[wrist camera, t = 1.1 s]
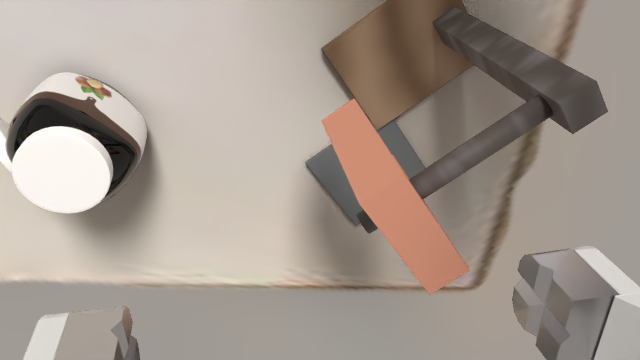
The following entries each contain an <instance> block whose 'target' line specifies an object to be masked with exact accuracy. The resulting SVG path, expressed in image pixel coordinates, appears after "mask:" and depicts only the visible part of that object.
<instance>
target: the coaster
mask: <svg viewBox="0 0 640 360" xmlns="http://www.w3.org/2000/svg"><path fill="white" fill-rule="evenodd" d="M369 120H370V119H369ZM370 122H371V120H370ZM371 123H372V122H371ZM372 125H373V123H372ZM373 126H374V125H373ZM374 128H375V126H374ZM375 129H376V128H375ZM376 131H377V132H378V134H379V135H380V137H381V139H382V140H383V142H384V143H385V145H386V146H387V148H388V149H389V151H390V153H391V154H393V156H394V157H395V159H396V160H397V162H398V163H399V164H400V166H401V167H402V169H403V170H404V172H405V173H406V175H407V176H408V178H409V179H410V178H412V177H414V176H415V175H417V174H418V173H420V172H421V171H423V170H424V169H426V168H425V167H424V165H423V164H422V162H421V161H420V159H419V158H418V156H417V154H416V153H415V151H414V150H413V148H412V147H411V145H410V144H409V142H408V141H407V139H406V138H405V136H404V134H403V133H402V131H401V130H400V128H399V127H398V125H397V124H396V122H395V121H394V119H393V120H391V121H390V122H388V123H387V124H385V125H384V126H383V127H381V128H380V129H378V130H377V129H376ZM306 165H307V166H308V167H309V168H310V170H311V171H312V172H313V173H314V175H315V176H316V177H317V178H318V180H319V181H320V182H321V183H322V185H323V186H324V187H325V188H326V190H327V191H328V192H329V193H330V194H331V196H332V197H333V198H334V199H335V201H336V202H337V203H338V204H339V206H340V207H341V208H342V209H343V211H344V212H345V213H346V214H347V216H348V217H349V218H350V219H351V221H352V222H353V223H354V224H355V226H356V225H358V224H359V223H361V222H360V221H359V219H358V217H357V215H356V214H357V213H359V212H360V211H362V210H363V208H362V207H361V205H360V204H359V202H358V200H357V198H356V196H355V194H354V191H353V189H352V187H351V185H350V183H349V180H348V178H347V176H346V174H345V172H344V169H343V167H342V165H341V163H340V161H339V158H338V156H337V154H336V152H335V150H334V147H333V145H332V144H331V145H330V146H328V147H327V148H325V149H324V150H322V151H321V152H319V153H318V154H316V155H315V156H314V157H312V158H311V159H309V160H308V161H306Z"/></svg>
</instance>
